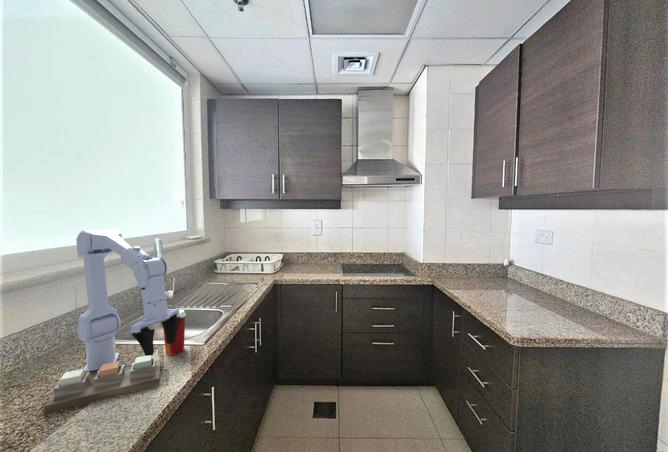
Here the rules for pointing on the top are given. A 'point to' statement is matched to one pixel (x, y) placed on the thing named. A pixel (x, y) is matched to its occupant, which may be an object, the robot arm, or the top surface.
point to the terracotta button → (109, 369)
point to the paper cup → (177, 337)
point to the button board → (103, 386)
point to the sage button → (143, 362)
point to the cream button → (72, 377)
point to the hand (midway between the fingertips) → (161, 348)
